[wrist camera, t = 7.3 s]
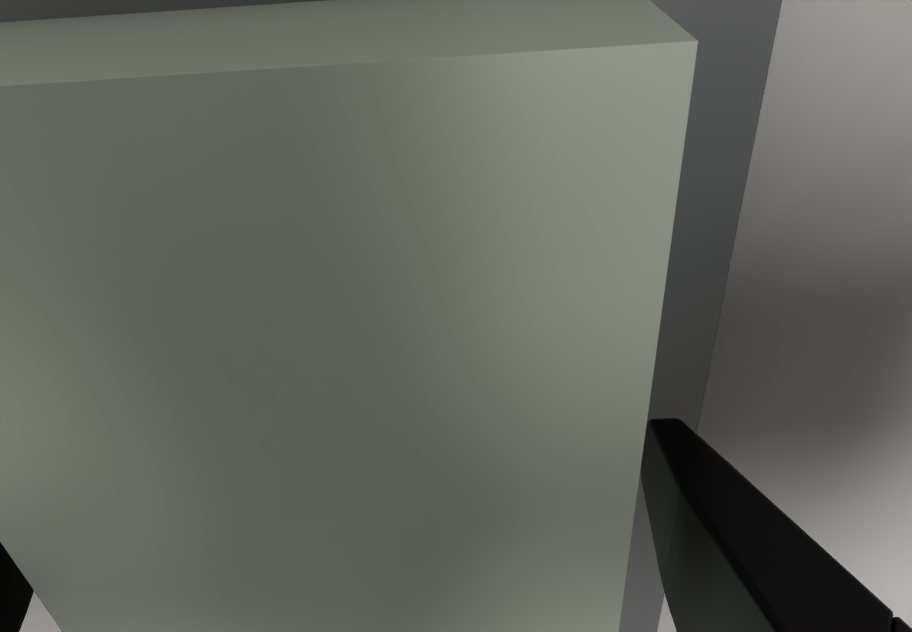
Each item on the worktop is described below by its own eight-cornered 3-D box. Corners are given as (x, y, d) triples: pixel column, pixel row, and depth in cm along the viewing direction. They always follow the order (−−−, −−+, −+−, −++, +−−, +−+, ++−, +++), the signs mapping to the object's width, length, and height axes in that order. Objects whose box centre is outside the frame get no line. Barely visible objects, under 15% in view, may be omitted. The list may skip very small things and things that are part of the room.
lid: (578, 626, 13) (600, 763, 11) (205, 644, 13) (165, 780, 11) (625, -20, 7) (699, 40, 5) (-94, 29, 7) (-302, 104, 5)
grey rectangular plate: (647, 610, 14) (655, 639, 13) (146, 633, 14) (135, 662, 13) (773, -89, 7) (798, -82, 6) (-224, -26, 7) (-273, -13, 7)
